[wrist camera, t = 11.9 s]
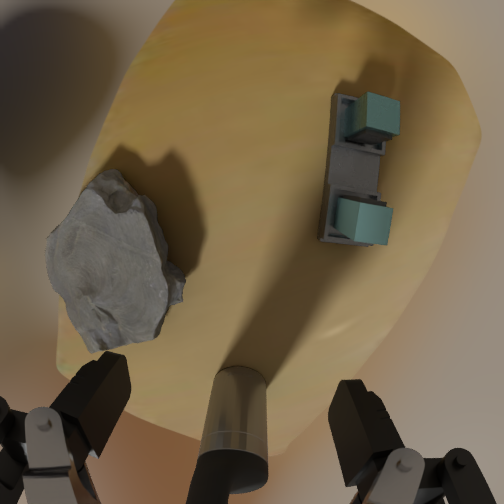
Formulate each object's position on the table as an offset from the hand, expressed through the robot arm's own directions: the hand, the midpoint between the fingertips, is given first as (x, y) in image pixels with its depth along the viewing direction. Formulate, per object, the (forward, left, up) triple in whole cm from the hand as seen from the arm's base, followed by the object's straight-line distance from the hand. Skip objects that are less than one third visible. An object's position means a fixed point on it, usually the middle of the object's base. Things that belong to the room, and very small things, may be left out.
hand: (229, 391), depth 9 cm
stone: (-6, +20, -29) cm, 36 cm away
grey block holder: (+11, -13, -29) cm, 33 cm away
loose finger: (+4, -13, -27) cm, 30 cm away
